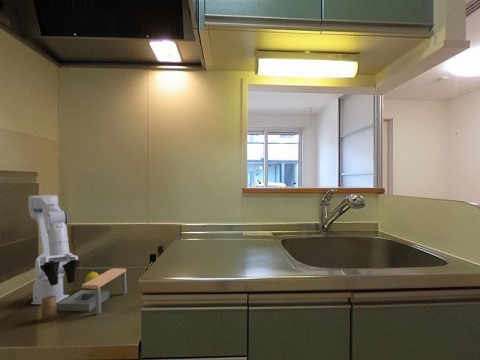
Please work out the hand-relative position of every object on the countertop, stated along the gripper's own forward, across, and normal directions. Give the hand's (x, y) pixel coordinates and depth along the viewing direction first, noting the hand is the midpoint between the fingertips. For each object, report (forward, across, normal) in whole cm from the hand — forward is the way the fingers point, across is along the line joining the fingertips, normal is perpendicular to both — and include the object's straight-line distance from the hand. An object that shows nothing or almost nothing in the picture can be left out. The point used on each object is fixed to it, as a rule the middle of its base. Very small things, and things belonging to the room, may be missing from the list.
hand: (63, 283), depth 94 cm
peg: (+10, +1, +7) cm, 12 cm away
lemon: (+4, +24, +7) cm, 25 cm away
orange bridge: (+10, +14, -5) cm, 18 cm away
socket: (+8, +13, +3) cm, 15 cm away
